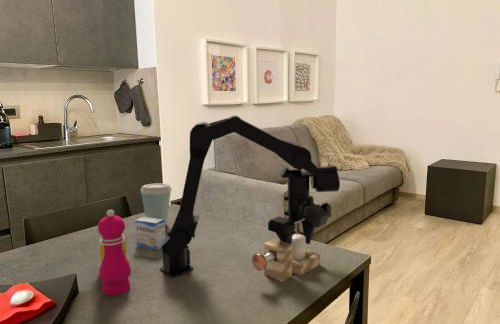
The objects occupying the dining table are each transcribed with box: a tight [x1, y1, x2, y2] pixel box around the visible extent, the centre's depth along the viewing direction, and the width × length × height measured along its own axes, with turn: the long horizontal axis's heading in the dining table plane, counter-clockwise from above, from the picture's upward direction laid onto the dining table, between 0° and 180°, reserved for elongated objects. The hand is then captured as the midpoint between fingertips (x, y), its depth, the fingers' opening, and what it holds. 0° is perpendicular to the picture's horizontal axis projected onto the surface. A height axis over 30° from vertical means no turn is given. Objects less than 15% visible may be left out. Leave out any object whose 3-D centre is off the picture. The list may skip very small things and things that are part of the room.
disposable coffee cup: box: [140, 183, 172, 226], centre depth 137 cm, size 11×11×15 cm
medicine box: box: [134, 216, 166, 251], centre depth 119 cm, size 8×4×9 cm, turn 68°
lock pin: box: [251, 251, 277, 272], centre depth 96 cm, size 8×4×4 cm, turn 136°
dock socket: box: [263, 238, 321, 283], centre depth 103 cm, size 14×9×8 cm, turn 136°
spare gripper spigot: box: [292, 233, 306, 262], centre depth 105 cm, size 4×4×8 cm
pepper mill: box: [97, 209, 132, 296], centre depth 92 cm, size 7×7×20 cm
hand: (298, 248), depth 105 cm, fingers open, 8 cm apart
